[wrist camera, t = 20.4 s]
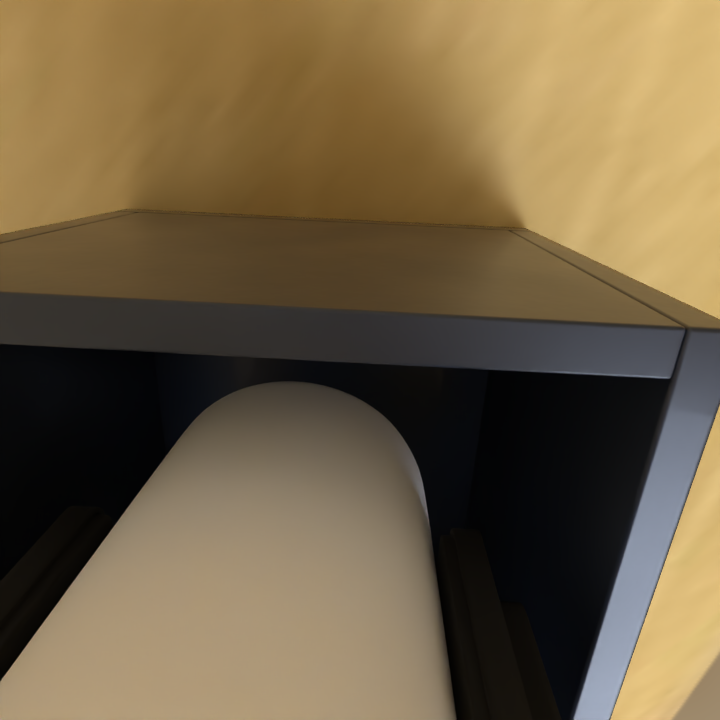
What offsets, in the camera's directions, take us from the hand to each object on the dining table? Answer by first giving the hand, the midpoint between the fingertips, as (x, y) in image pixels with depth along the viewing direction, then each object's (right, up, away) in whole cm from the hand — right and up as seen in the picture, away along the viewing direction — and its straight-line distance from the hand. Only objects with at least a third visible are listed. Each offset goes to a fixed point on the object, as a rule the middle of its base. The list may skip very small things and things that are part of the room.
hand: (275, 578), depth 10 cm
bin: (0, +2, +10) cm, 10 cm away
